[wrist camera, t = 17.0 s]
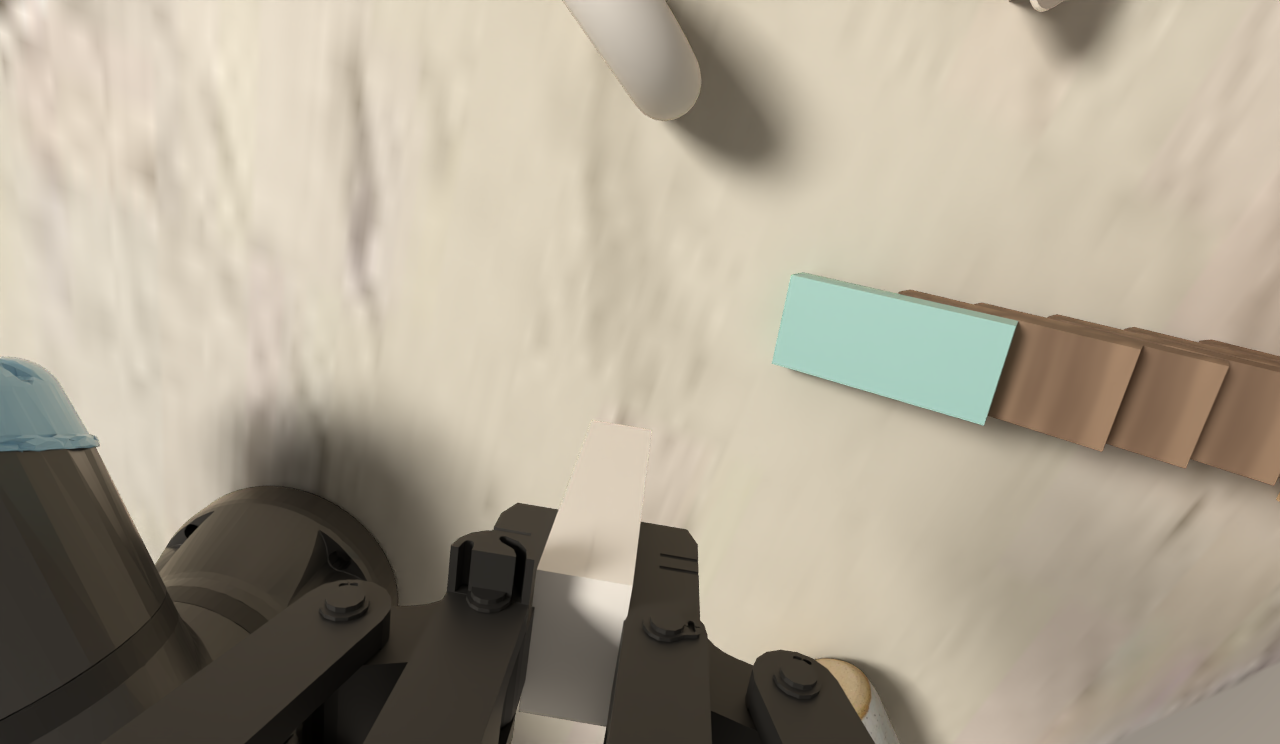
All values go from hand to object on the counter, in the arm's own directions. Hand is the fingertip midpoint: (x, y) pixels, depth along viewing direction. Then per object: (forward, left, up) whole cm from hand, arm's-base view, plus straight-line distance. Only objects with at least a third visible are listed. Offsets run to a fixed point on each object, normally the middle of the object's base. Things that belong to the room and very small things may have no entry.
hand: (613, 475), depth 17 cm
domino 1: (+13, 0, -23) cm, 26 cm away
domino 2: (+17, 0, -23) cm, 29 cm away
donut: (-4, +13, -24) cm, 28 cm away
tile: (+7, 0, -23) cm, 24 cm away
